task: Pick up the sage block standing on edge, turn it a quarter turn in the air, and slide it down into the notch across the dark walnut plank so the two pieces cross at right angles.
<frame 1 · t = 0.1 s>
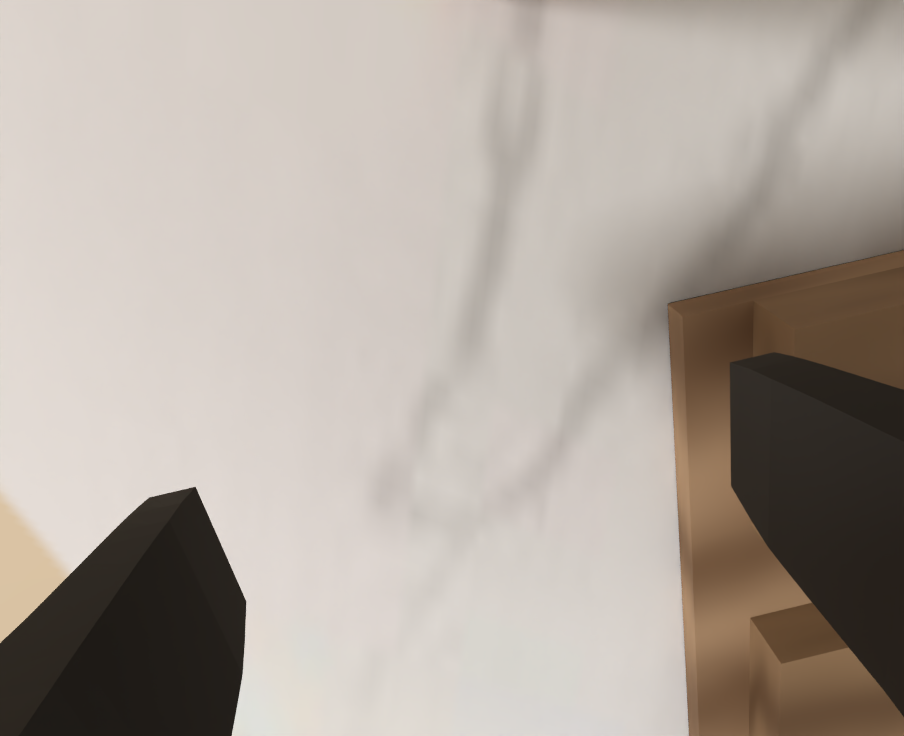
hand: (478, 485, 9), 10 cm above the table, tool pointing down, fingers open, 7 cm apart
slotted plank: (845, 526, 25), on the table
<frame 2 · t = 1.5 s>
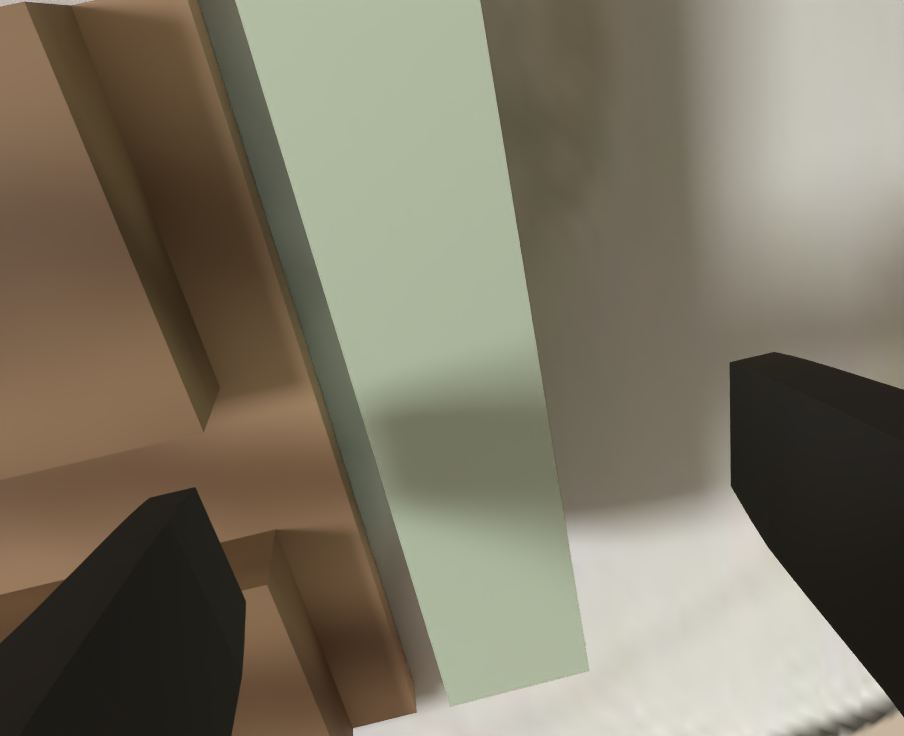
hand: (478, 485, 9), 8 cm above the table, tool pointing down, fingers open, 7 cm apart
slotted plank: (98, 477, 18), on the table
sage block: (420, 285, 17), on the table
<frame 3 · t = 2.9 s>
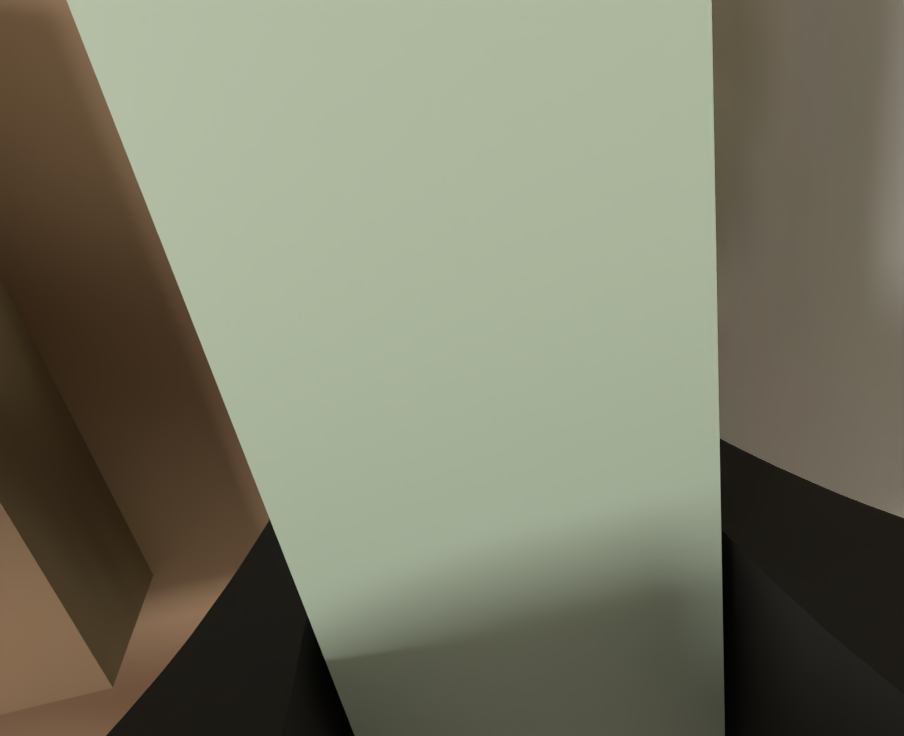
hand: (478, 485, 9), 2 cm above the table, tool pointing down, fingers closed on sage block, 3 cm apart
sage block: (457, 410, 11), on the table, touching gripper
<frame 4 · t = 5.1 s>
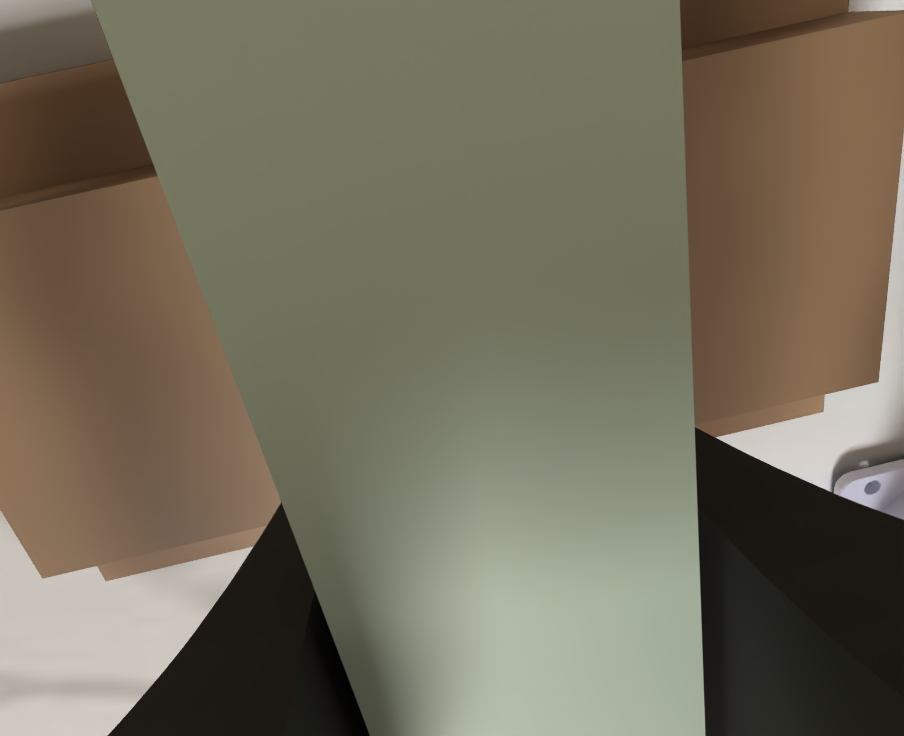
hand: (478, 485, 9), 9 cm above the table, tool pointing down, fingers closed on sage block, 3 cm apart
slotted plank: (421, 277, 17), on the table
sage block: (454, 401, 12), point 6 cm above the table, touching gripper
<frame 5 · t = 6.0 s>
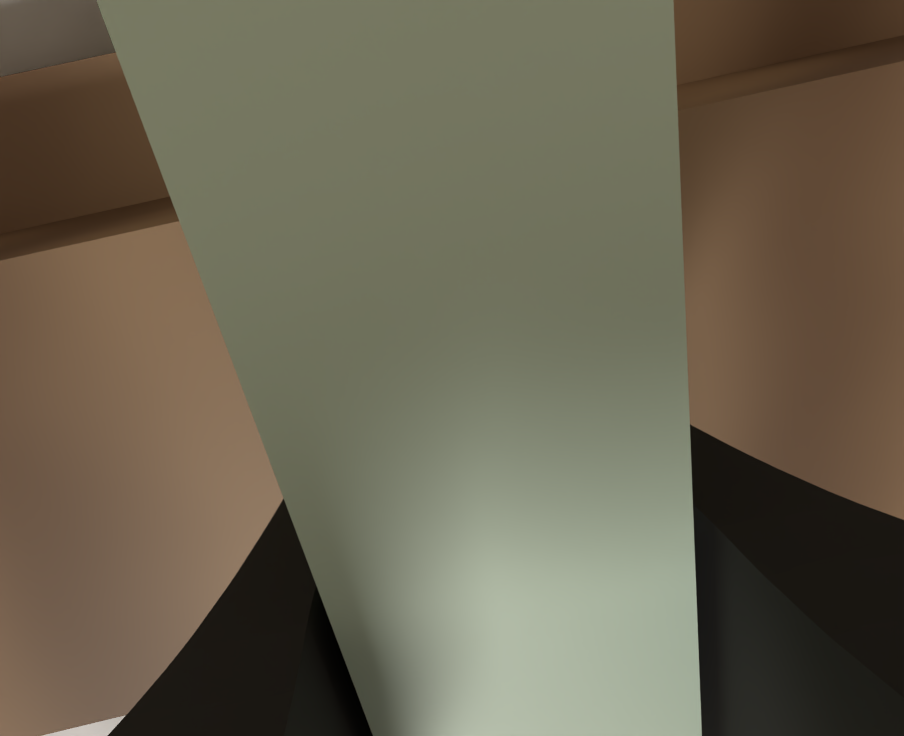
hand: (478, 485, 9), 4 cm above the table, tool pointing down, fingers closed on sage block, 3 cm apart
slotted plank: (442, 352, 13), on the table
sage block: (453, 397, 12), point 2 cm above the table, touching gripper
when the fingers open (4 cm above the table, at t = 6.8 s): sage block stays where it is, resting on slotted plank.
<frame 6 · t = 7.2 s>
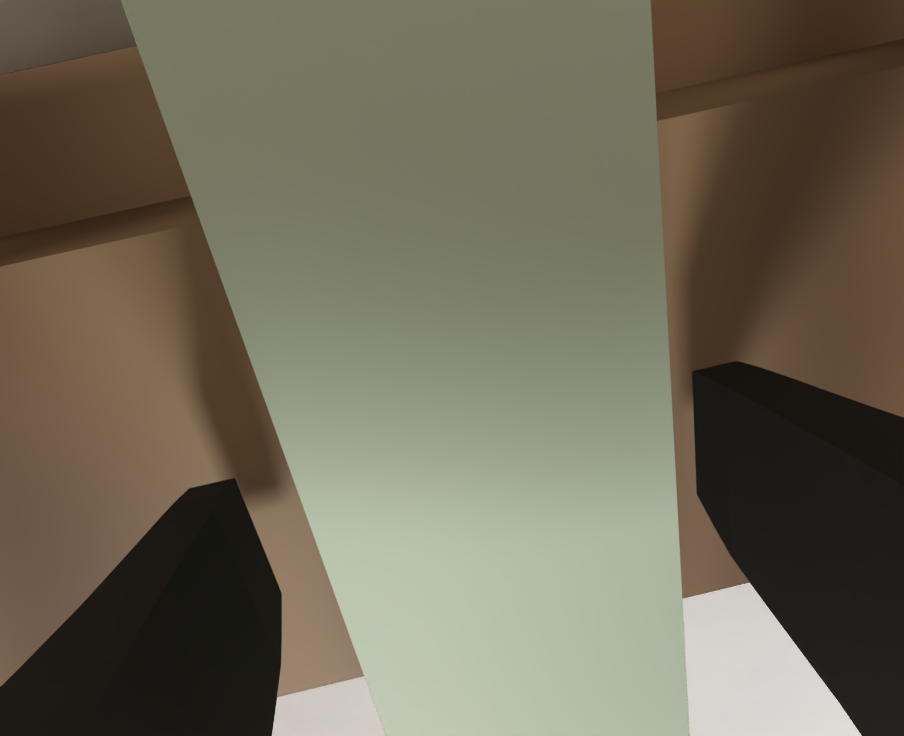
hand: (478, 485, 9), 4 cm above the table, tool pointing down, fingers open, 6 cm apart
slotted plank: (444, 361, 13), on the table
sage block: (451, 387, 12), point 1 cm above the table, touching slotted plank
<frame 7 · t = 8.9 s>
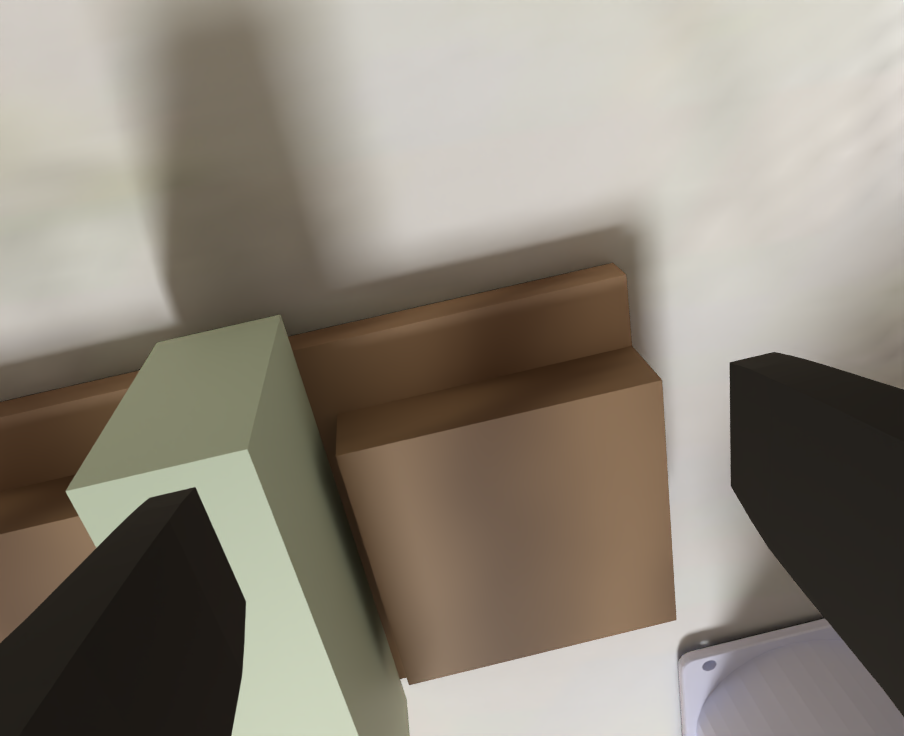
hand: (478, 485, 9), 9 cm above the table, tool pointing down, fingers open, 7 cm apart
slotted plank: (303, 527, 21), on the table
sage block: (301, 549, 20), point 1 cm above the table, touching slotted plank
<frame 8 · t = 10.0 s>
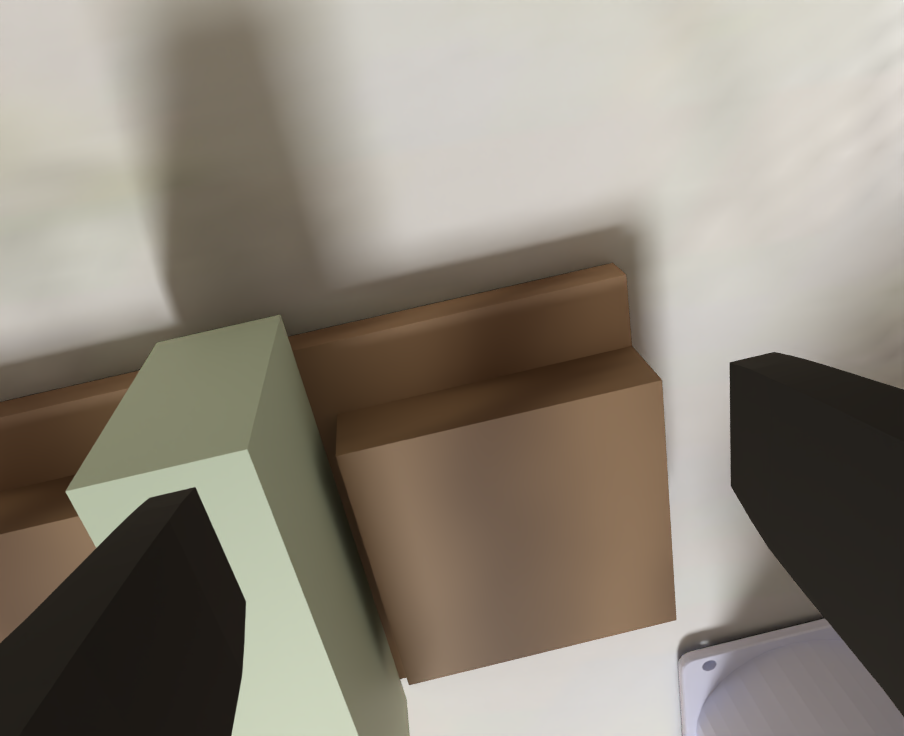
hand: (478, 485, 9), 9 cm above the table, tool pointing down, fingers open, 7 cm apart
slotted plank: (303, 527, 21), on the table
sage block: (301, 549, 20), point 1 cm above the table, touching slotted plank
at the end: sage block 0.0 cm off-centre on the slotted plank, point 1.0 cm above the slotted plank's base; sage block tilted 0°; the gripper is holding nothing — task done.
